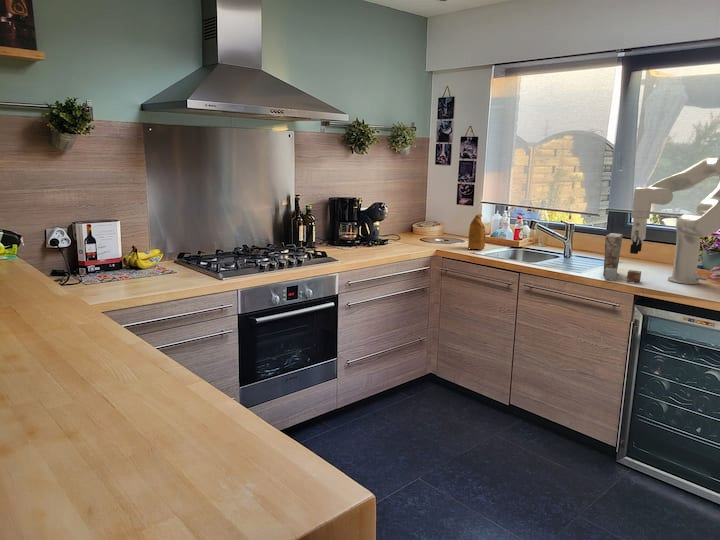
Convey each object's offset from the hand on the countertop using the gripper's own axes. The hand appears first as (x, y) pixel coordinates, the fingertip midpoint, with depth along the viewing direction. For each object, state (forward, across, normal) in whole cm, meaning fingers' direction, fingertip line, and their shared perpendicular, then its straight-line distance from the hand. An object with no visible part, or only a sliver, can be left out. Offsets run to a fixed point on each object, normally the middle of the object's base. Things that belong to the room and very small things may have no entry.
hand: (635, 252), depth 252 cm
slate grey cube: (+14, +1, +9) cm, 17 cm away
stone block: (+14, +13, +11) cm, 22 cm away
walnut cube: (+14, +1, -1) cm, 14 cm away
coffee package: (+15, +47, +95) cm, 107 cm away
